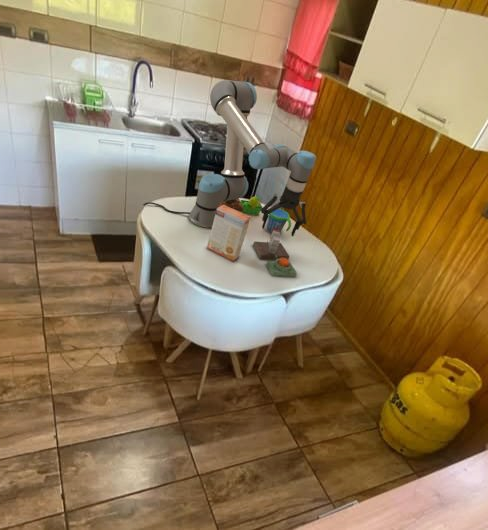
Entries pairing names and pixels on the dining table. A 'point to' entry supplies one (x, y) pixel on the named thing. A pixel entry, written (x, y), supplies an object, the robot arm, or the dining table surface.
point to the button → (283, 262)
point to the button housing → (280, 269)
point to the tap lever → (274, 241)
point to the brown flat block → (263, 251)
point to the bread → (233, 204)
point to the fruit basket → (251, 206)
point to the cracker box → (228, 232)
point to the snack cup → (278, 220)
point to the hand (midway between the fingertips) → (277, 231)
